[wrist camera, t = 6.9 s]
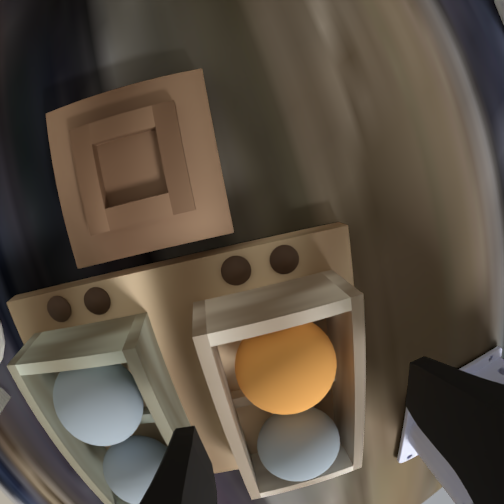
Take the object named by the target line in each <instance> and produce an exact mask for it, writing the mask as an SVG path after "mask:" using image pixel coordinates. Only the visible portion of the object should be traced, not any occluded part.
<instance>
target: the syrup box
mask: <svg viewBox="0 0 504 504" xmlns="http://www.w3.org/2000/svg"><path fill="white" fill-rule="evenodd" d="M494 3H495V5H496V8H497V10H498V12H499V15H500V17H501V20H502V22H503V24H504V0H494Z"/></svg>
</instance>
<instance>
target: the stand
mask: <svg viewBox="0 0 504 504" xmlns="http://www.w3.org/2000/svg"><path fill="white" fill-rule="evenodd" d="M46 122H47V130H48V138H49V145H50V152H51V158H52V164H53V169H54V175H55V180H56V185H57V190H58V195H59V199H60V204H61V208H62V213H63V217H64V221H65V225H66V229H67V233H68V236H69V240H70V244H71V247H72V251H73V254H74V258H75V261H76V265H77V268H78V269H80V268H84V267H88V266H92V265H96V264H101V263H105V262H109V261H113V260H117V259H121V258H125V257H130V256H134V255H138V254H142V253H147V252H151V251H155V250H160V249H164V248H168V247H173V246H177V245H181V244H186V243H190V242H195V241H199V240H204V239H208V238H212V237H217V236H221V235H226V234H231V233H234V229H233V224H232V220H231V215H230V210H229V205H228V200H227V195H226V190H225V185H224V180H223V175H222V170H221V164H220V159H219V154H218V149H217V144H216V139H215V134H214V129H213V123H212V118H211V113H210V108H209V102H208V97H207V92H206V86H205V81H204V76H203V70H202V68H201V69H195V70H190V71H185V72H180V73H176V74H171V75H167V76H162V77H158V78H154V79H150V80H146V81H142V82H138V83H134V84H131V85H127V86H124V87H120V88H117V89H114V90H110V91H107V92H104V93H101V94H98V95H95V96H92V97H89V98H86V99H83V100H80V101H77V102H75V103H72V104H69V105H66V106H64V107H61V108H59V109H56V110H54V111H51V112H49V113H46Z"/></svg>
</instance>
